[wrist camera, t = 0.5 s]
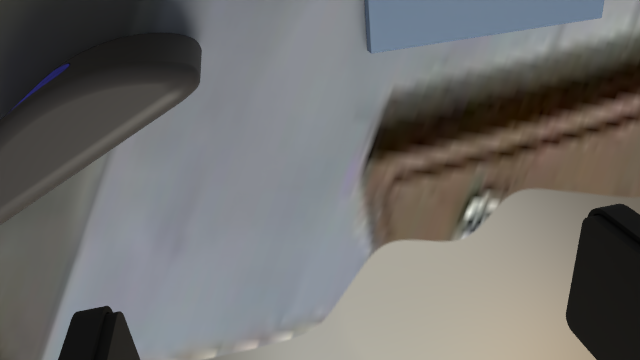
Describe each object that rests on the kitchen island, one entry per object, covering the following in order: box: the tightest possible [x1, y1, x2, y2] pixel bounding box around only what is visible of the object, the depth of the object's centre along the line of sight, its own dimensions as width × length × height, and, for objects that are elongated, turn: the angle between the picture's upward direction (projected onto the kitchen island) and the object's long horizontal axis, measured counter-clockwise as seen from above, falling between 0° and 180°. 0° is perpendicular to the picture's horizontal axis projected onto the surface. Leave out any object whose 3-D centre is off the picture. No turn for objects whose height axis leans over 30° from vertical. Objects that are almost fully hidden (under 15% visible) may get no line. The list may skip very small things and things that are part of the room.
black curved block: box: [0, 33, 201, 225], centre depth 31 cm, size 16×5×9 cm, turn 121°
